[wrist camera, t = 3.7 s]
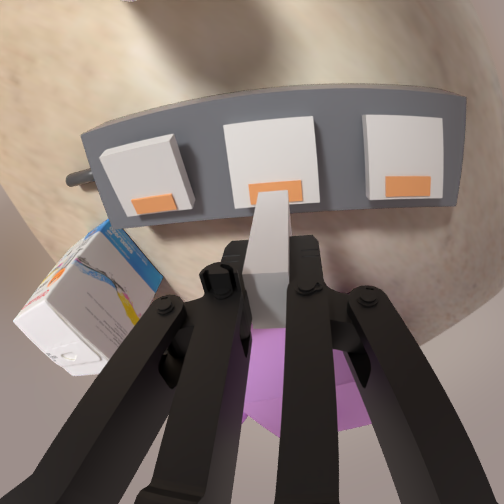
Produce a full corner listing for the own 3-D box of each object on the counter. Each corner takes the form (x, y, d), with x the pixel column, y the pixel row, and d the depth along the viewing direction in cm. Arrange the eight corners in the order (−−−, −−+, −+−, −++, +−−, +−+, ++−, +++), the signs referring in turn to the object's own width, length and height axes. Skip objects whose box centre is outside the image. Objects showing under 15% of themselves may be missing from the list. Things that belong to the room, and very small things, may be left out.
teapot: (379, 270, 27) (412, 386, 17) (396, 330, 32) (417, 427, 22) (203, 326, 34) (178, 425, 24) (247, 371, 39) (235, 457, 29)
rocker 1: (105, 149, 17) (98, 158, 16) (174, 133, 16) (168, 142, 16) (132, 207, 21) (126, 218, 20) (195, 199, 20) (191, 210, 19)
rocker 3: (361, 115, 16) (366, 114, 15) (435, 117, 15) (443, 118, 14) (365, 195, 18) (370, 200, 17) (435, 194, 17) (443, 198, 16)
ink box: (112, 213, 26) (42, 299, 17) (165, 277, 30) (123, 373, 21) (67, 247, 29) (9, 322, 20) (115, 300, 33) (73, 380, 24)
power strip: (60, 138, 22) (33, 153, 19) (439, 88, 17) (466, 97, 13) (87, 214, 26) (65, 237, 23) (434, 185, 21) (455, 208, 18)
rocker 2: (226, 124, 17) (222, 125, 16) (311, 116, 16) (313, 116, 15) (237, 204, 19) (234, 209, 18) (318, 198, 18) (320, 203, 17)
